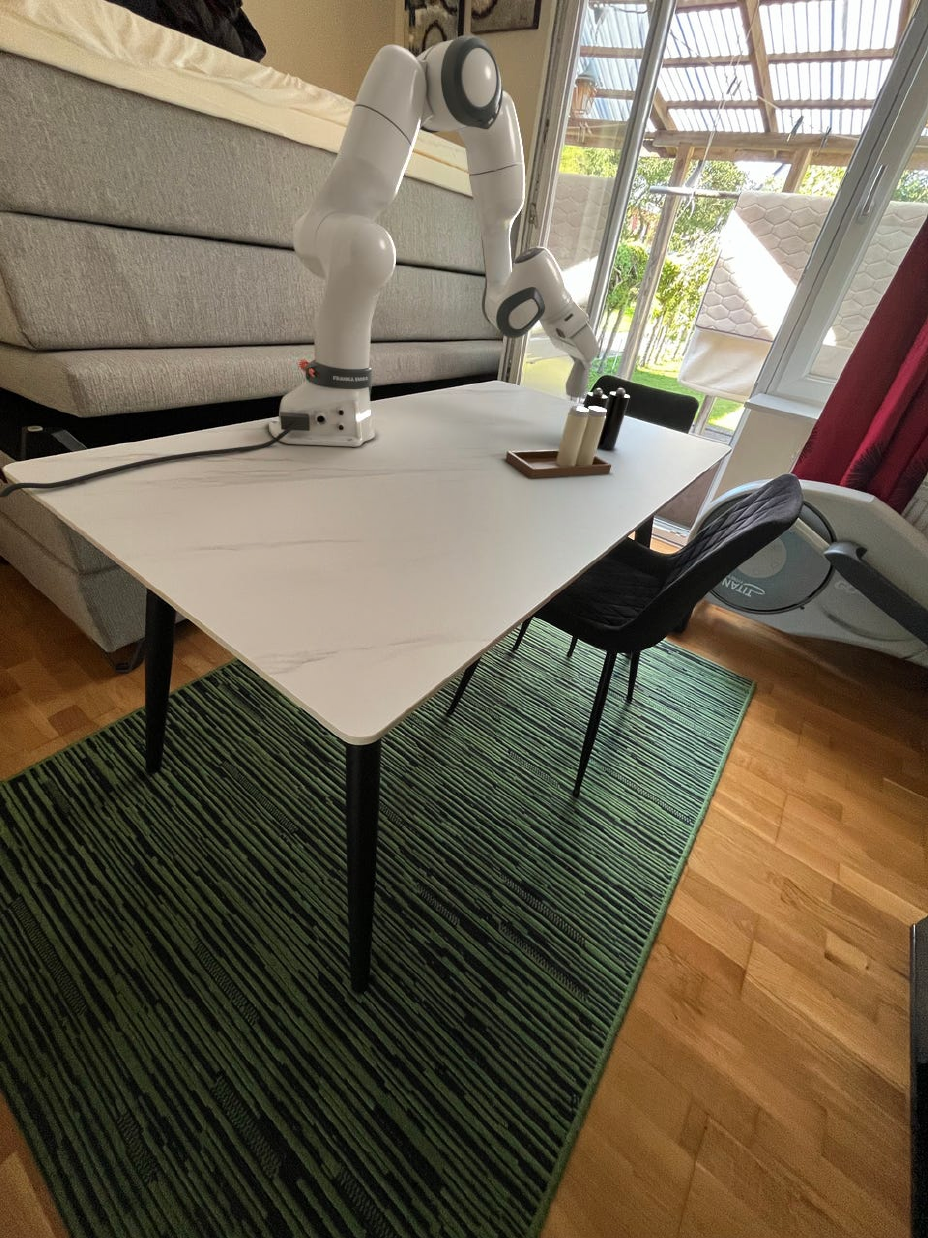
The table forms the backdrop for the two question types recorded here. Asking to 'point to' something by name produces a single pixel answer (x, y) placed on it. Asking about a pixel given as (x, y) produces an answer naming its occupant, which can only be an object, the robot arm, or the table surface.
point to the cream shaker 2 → (591, 435)
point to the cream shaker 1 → (572, 436)
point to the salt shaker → (577, 380)
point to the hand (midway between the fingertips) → (584, 366)
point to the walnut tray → (552, 464)
